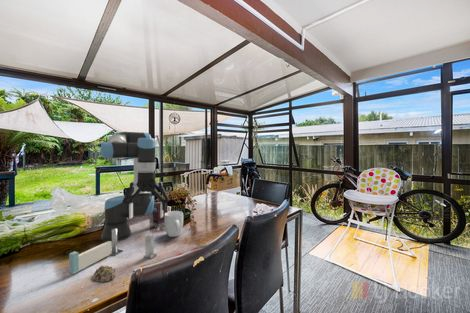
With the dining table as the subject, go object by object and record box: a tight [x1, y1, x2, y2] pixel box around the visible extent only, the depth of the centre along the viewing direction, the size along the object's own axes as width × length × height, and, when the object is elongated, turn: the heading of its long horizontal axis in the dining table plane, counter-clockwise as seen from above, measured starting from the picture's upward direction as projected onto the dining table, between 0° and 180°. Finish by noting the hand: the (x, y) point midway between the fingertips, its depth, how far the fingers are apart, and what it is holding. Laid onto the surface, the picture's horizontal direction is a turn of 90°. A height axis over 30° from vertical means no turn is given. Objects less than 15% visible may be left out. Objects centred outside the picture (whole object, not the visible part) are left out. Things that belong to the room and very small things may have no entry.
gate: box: [68, 241, 112, 275], centre depth 92 cm, size 18×2×8 cm, turn 161°
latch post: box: [143, 235, 157, 260], centre depth 99 cm, size 4×4×10 cm
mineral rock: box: [92, 265, 116, 283], centre depth 84 cm, size 11×4×8 cm
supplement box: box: [152, 201, 168, 228], centre depth 141 cm, size 9×5×16 cm, turn 146°
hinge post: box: [109, 228, 124, 257], centre depth 102 cm, size 5×5×12 cm
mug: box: [164, 210, 184, 238], centre depth 124 cm, size 15×11×13 cm
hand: (146, 217), depth 95 cm, fingers open, 13 cm apart
